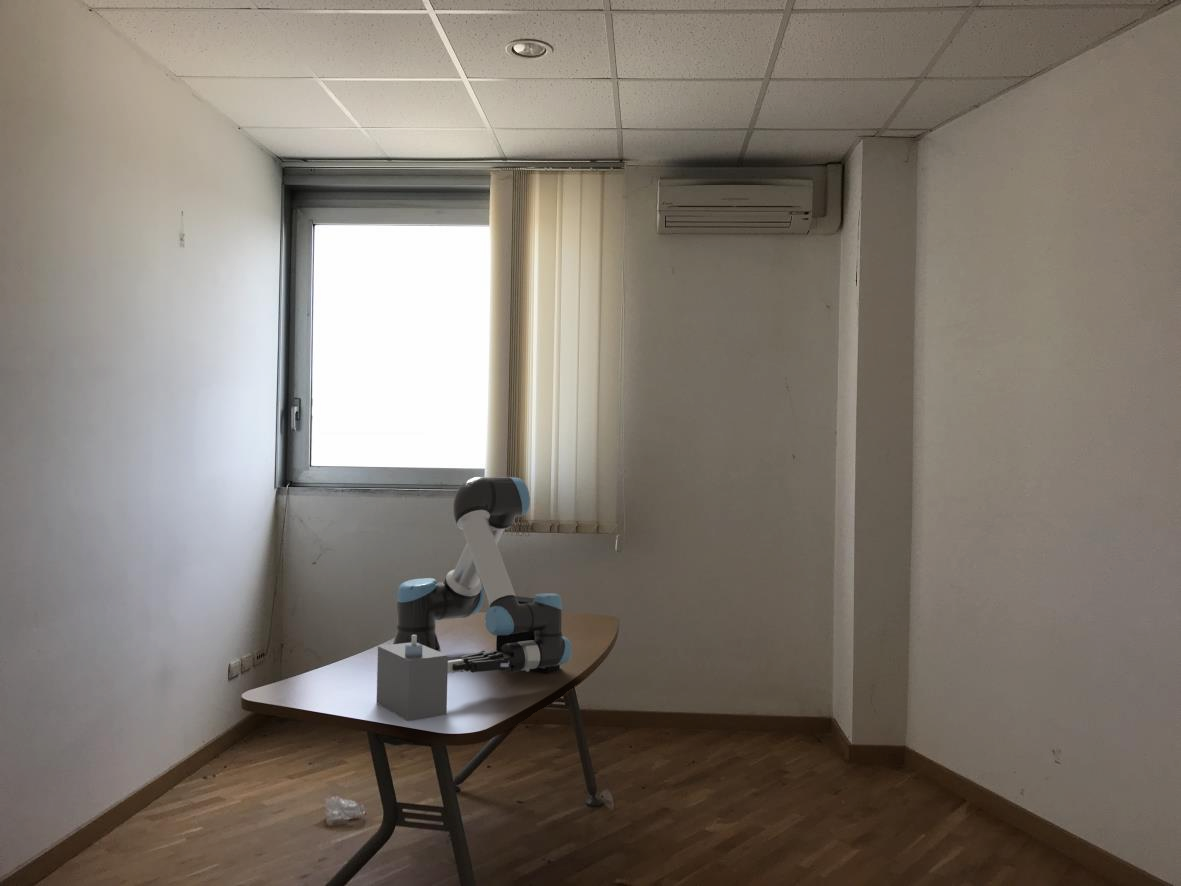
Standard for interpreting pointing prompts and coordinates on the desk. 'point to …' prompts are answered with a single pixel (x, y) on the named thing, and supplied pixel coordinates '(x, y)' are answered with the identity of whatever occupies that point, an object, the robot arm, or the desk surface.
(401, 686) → the housing
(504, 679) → the desk surface
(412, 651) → the knob
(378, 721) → the desk surface
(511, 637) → the electrical component
